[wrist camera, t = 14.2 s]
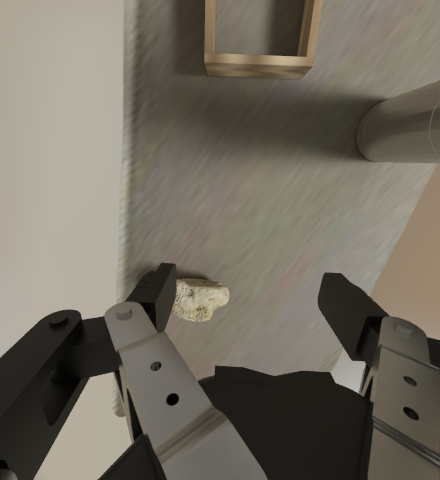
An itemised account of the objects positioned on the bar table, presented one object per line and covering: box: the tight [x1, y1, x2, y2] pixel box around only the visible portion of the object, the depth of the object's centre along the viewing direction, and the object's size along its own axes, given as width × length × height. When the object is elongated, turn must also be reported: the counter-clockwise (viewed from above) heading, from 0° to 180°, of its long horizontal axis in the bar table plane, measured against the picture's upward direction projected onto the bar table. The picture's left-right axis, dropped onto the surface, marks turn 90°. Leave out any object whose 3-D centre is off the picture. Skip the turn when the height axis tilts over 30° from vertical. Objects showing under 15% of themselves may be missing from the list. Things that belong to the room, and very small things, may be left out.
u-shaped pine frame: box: [204, 0, 323, 79], centre depth 29 cm, size 14×14×5 cm
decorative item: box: [172, 278, 229, 322], centre depth 42 cm, size 12×9×10 cm
